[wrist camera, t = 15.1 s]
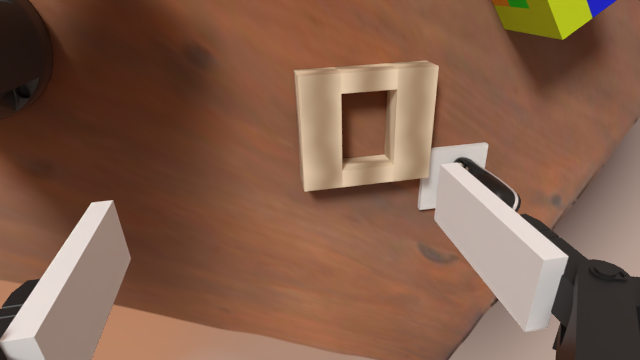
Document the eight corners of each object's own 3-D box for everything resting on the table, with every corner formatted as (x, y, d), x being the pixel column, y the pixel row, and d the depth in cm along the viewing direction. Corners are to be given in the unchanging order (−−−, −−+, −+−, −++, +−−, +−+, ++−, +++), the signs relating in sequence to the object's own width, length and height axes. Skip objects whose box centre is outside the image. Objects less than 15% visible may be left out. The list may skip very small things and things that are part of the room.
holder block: (300, 179, 53) (304, 191, 50) (294, 70, 46) (297, 76, 43) (417, 166, 55) (428, 177, 52) (426, 60, 49) (438, 66, 46)
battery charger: (453, 150, 54) (502, 189, 44) (475, 158, 55) (528, 199, 45) (428, 194, 56) (468, 240, 46) (449, 201, 57) (494, 248, 47)
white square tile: (417, 207, 58) (419, 209, 57) (422, 148, 54) (425, 151, 53) (476, 199, 59) (479, 202, 58) (485, 142, 55) (488, 144, 54)
